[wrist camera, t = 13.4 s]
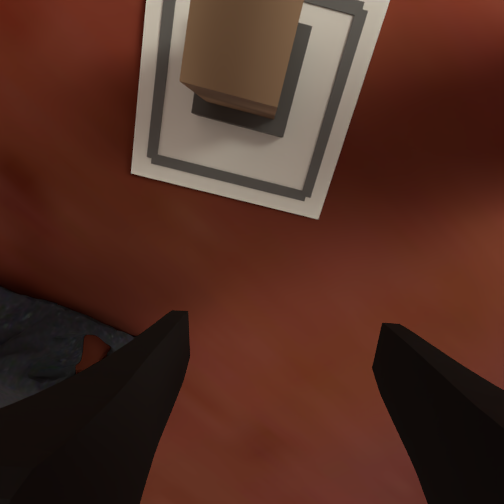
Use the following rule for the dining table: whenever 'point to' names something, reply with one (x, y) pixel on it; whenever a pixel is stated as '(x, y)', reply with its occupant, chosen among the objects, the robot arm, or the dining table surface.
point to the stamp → (244, 61)
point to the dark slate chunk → (43, 344)
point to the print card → (245, 140)
